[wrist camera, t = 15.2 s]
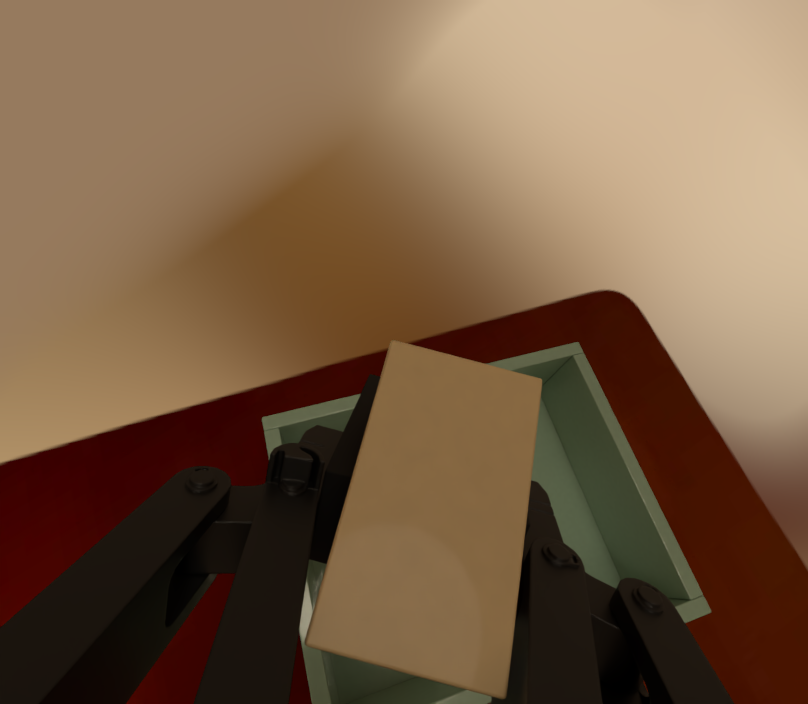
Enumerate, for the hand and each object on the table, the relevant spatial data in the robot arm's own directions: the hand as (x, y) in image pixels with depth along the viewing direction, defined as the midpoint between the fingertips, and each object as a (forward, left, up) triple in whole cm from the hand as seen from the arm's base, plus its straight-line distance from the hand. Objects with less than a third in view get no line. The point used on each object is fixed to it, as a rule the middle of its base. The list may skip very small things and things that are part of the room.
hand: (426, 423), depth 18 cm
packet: (+3, -2, -3) cm, 5 cm away
